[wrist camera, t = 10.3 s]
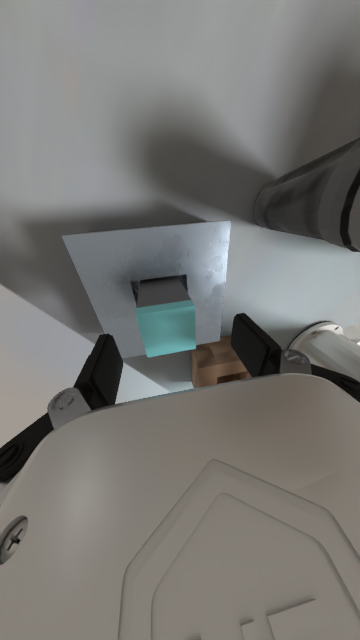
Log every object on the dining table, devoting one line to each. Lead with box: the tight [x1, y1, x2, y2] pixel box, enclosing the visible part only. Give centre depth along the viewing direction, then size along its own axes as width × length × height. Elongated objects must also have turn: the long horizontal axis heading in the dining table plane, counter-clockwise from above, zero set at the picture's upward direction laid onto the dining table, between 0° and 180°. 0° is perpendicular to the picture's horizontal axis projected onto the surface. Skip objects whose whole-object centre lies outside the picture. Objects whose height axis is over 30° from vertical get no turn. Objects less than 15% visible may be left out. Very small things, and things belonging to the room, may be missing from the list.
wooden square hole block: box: [190, 336, 252, 388], centre depth 30 cm, size 12×12×6 cm
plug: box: [136, 275, 196, 358], centre depth 16 cm, size 4×4×11 cm
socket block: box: [61, 220, 231, 359], centre depth 19 cm, size 14×14×6 cm
